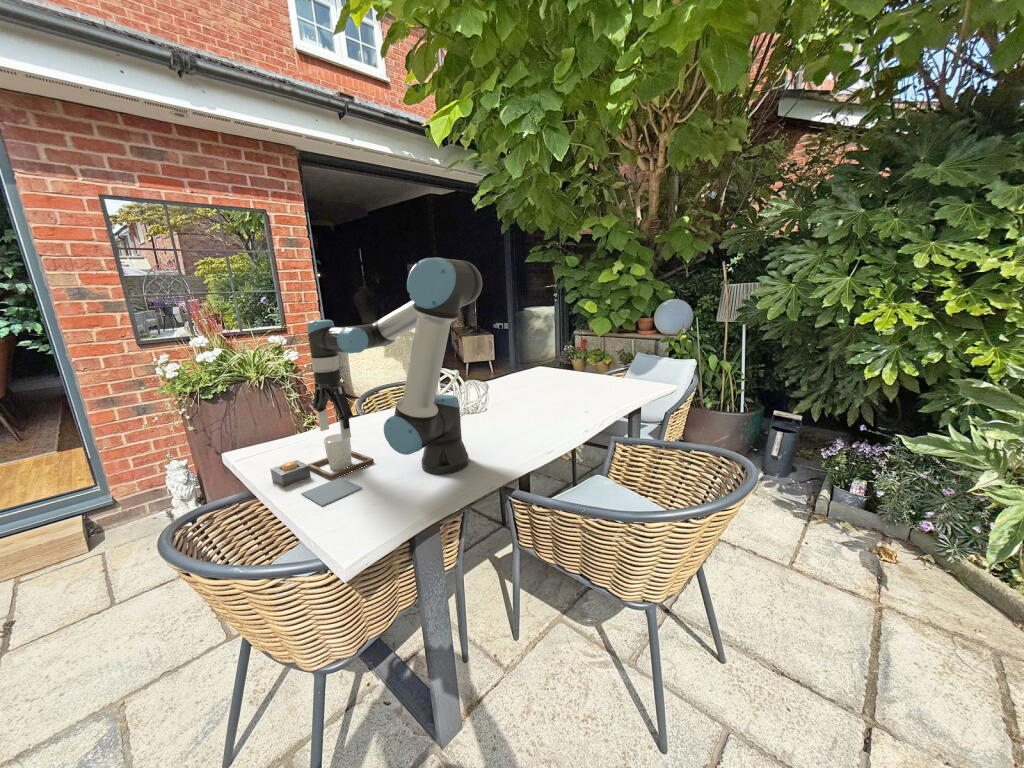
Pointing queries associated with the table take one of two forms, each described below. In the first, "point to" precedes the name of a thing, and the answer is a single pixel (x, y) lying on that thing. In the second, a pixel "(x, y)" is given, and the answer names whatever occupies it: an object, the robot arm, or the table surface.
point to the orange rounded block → (289, 466)
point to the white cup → (338, 451)
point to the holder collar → (330, 476)
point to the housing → (290, 474)
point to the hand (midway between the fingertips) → (335, 433)
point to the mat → (331, 491)
